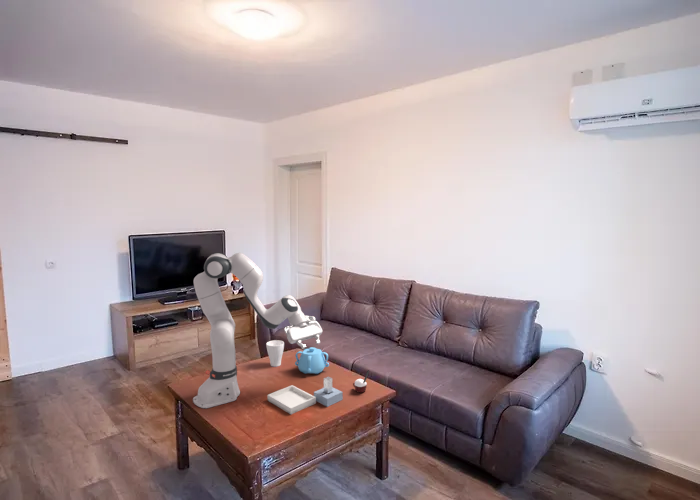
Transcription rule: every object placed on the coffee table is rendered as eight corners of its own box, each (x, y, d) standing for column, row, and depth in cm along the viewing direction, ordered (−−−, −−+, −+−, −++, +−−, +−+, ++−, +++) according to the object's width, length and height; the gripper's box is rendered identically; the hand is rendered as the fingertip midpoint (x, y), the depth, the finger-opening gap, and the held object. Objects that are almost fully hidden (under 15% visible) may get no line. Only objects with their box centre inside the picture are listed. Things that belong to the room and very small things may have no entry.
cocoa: (351, 390, 210) (350, 367, 209) (361, 386, 213) (360, 364, 212) (361, 396, 202) (360, 373, 201) (371, 392, 205) (370, 370, 204)
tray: (290, 414, 185) (290, 408, 185) (267, 400, 198) (267, 394, 198) (316, 403, 195) (316, 397, 195) (292, 390, 209) (292, 385, 208)
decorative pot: (318, 363, 245) (317, 341, 244) (331, 372, 232) (331, 349, 230) (293, 369, 237) (292, 346, 235) (305, 378, 223) (305, 354, 222)
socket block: (327, 406, 192) (327, 398, 191) (313, 399, 199) (313, 392, 198) (342, 399, 199) (342, 391, 198) (329, 393, 206) (328, 385, 205)
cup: (276, 369, 235) (275, 347, 234) (263, 365, 241) (262, 343, 240) (288, 363, 244) (287, 342, 243) (275, 360, 250) (274, 339, 248)
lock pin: (327, 401, 197) (327, 380, 196) (323, 399, 199) (323, 378, 198) (332, 399, 199) (332, 378, 198) (328, 397, 201) (328, 376, 200)
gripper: (285, 324, 202) (297, 348, 196) (316, 316, 216) (329, 338, 210) (280, 330, 205) (292, 354, 200) (311, 322, 220) (323, 344, 214)
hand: (311, 345), depth 205 cm, fingers open, 8 cm apart
